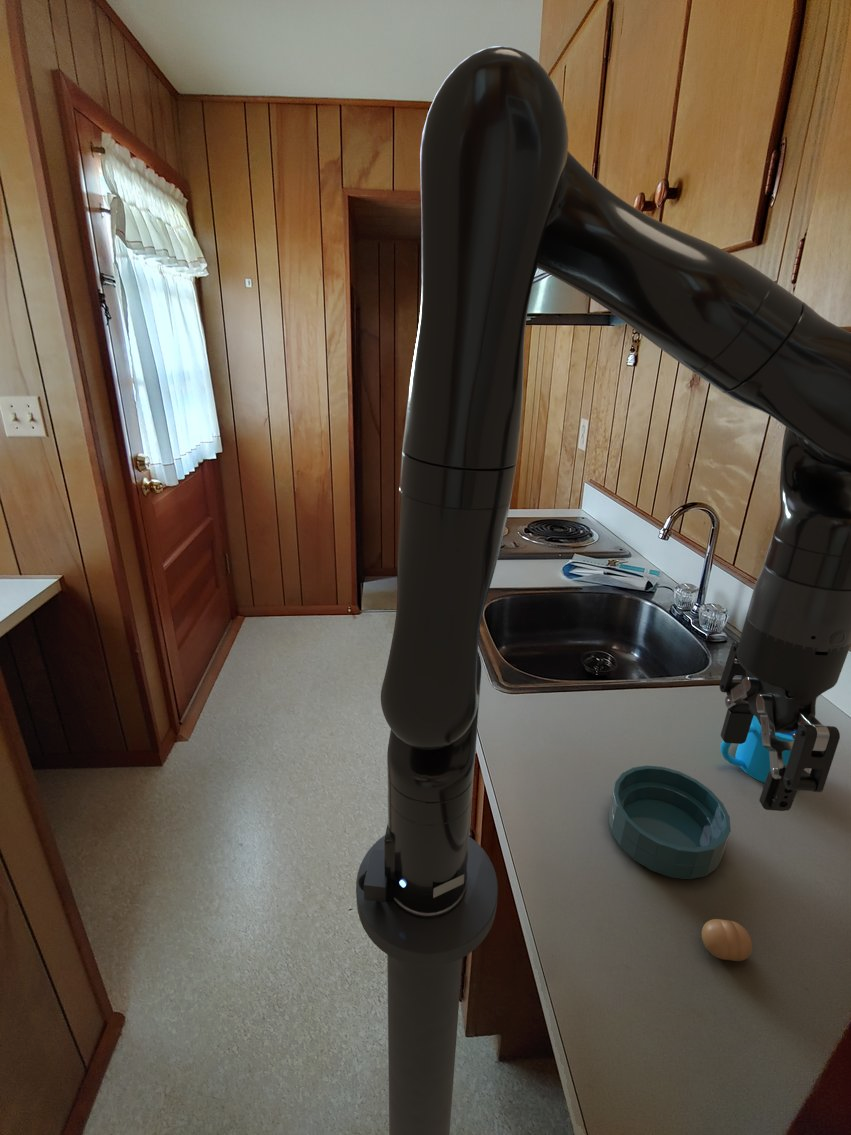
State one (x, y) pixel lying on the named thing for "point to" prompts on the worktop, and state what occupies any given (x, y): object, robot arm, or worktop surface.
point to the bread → (726, 940)
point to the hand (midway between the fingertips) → (751, 771)
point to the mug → (755, 752)
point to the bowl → (669, 822)
